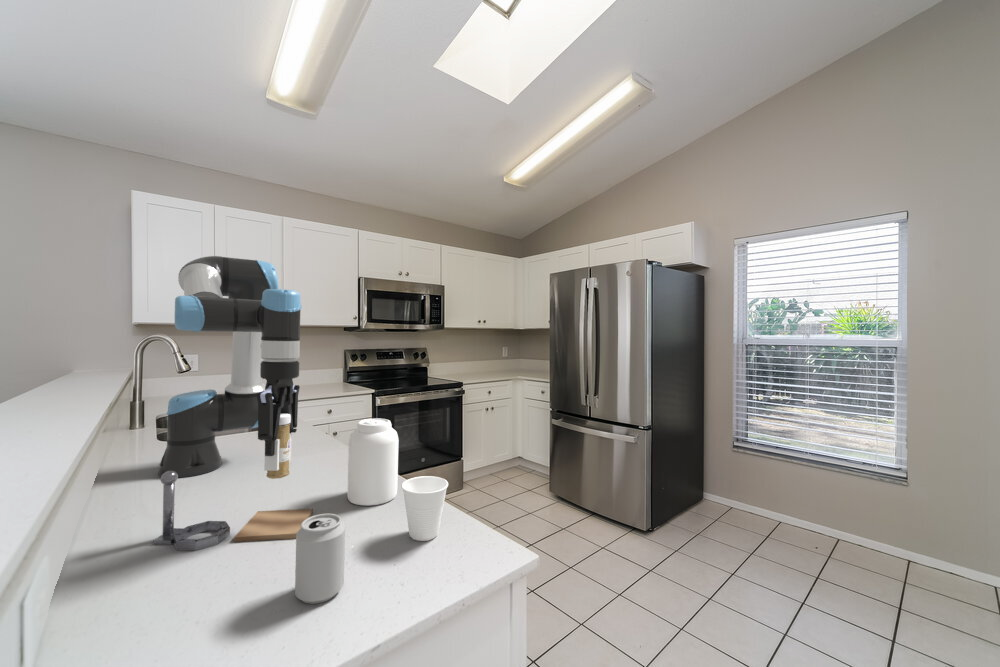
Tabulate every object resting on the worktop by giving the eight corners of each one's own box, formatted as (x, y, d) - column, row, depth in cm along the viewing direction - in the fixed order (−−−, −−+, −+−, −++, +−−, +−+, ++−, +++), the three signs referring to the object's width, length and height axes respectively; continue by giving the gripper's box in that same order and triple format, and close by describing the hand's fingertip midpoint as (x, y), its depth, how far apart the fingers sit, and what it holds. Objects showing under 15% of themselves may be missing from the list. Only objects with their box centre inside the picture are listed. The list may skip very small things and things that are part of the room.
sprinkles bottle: (290, 477, 90) (292, 415, 89) (266, 480, 87) (268, 417, 87) (288, 470, 93) (289, 411, 93) (265, 474, 91) (266, 413, 91)
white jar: (350, 510, 99) (352, 428, 99) (344, 491, 110) (346, 417, 110) (402, 501, 105) (404, 423, 105) (391, 484, 116) (393, 414, 116)
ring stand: (178, 527, 89) (179, 463, 88) (237, 528, 89) (239, 465, 89) (142, 549, 80) (143, 478, 80) (208, 551, 80) (210, 480, 80)
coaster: (257, 515, 95) (257, 511, 95) (312, 512, 97) (312, 508, 97) (234, 542, 83) (234, 537, 83) (297, 538, 85) (297, 533, 85)
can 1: (305, 579, 72) (306, 510, 72) (349, 577, 72) (350, 510, 72) (286, 607, 64) (288, 531, 64) (335, 606, 65) (337, 531, 65)
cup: (454, 528, 91) (456, 479, 91) (433, 550, 82) (434, 496, 82) (415, 520, 95) (416, 473, 95) (390, 541, 85) (392, 488, 85)
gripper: (283, 357, 99) (281, 453, 99) (238, 362, 81) (235, 480, 81) (315, 357, 99) (312, 454, 99) (276, 363, 81) (273, 480, 81)
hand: (278, 465), depth 90 cm, fingers closed on sprinkles bottle, 4 cm apart
